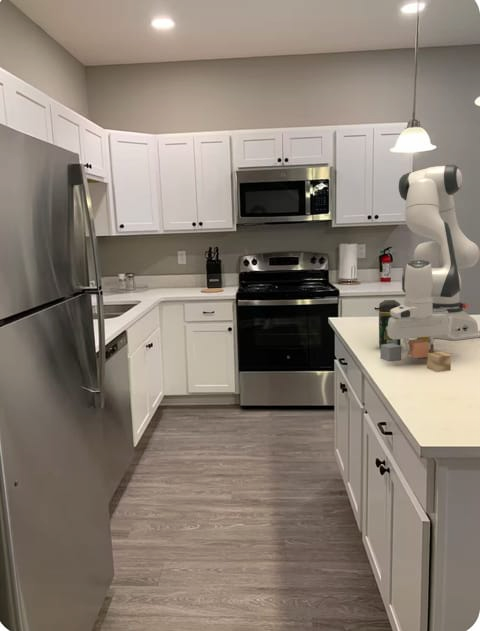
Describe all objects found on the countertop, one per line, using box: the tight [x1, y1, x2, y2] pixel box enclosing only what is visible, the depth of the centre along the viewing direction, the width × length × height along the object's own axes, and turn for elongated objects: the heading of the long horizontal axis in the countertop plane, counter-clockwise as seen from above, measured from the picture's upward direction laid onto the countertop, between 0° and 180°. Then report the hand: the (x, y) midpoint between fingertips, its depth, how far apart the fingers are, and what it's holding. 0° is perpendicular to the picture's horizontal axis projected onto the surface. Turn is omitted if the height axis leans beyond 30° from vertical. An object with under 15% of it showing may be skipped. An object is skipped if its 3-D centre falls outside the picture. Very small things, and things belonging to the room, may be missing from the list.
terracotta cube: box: [407, 338, 429, 359], centre depth 164 cm, size 5×5×5 cm
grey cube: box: [380, 343, 402, 362], centre depth 171 cm, size 5×5×5 cm
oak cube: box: [426, 351, 452, 373], centre depth 157 cm, size 5×5×5 cm
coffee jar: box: [378, 299, 402, 350], centre depth 184 cm, size 10×8×19 cm
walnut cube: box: [417, 343, 435, 360], centre depth 171 cm, size 5×5×5 cm
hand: (418, 349), depth 164 cm, fingers closed on terracotta cube, 5 cm apart
